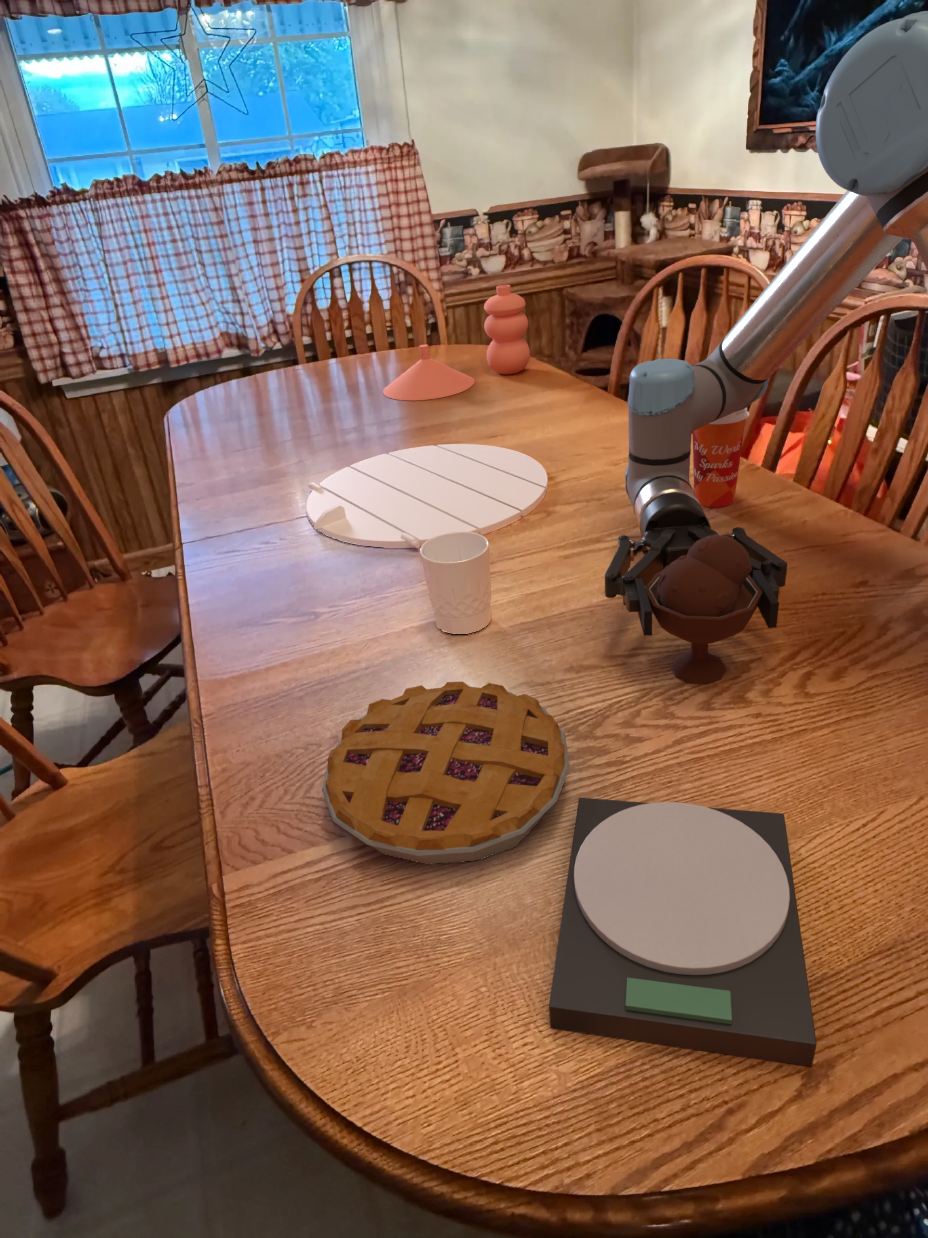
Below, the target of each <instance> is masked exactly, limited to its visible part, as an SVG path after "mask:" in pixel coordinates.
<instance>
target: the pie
mask: <svg viewBox="0 0 928 1238" xmlns="http://www.w3.org/2000/svg"><path fill="white" fill-rule="evenodd" d="M569 769H570V760H569V751H568V746H567V739H566V733H565V731H563V729H562V728H561V726H559V724H558V723H557V721H556V719H554V717H553V716H552V715H551V714H550V713H549V712H548V711H547V710H546V709H545V708H544V707H543V706H542V705H541V703H540V702H539V699H537V698H535V697H533V696H530V695H528V694H526V693H522V694H519V695H517V694H515V693H513V692H510V691H508V690H507V689H506V688H505V686H504V685H503V684H498V683H497V684H496V683H491V682H488V683H486V684H485V685H483V686H482V687H476V686H470V685H468V684H467V683H466V682H464V681H446V683H444V685H443V686H441V687H435V688H425V687H424V686H423V684H421V685H416V686H412V687H408V688H405V689H404V691H403V693H402V695H400V696H398V697H397V696H396V697H395V698H392V699H385V698H381V699H379V700H376V701H373V702H370V703H369V704H368V707H367V711H366V714H365V715H363V716H362V717H360V718H358V719H350V720H349V721H348V722H347V723H346V724H345V726H343V728H342V729H341V739H340V740H339V741H338V743H337V744H336V746H335V747H334V748H333V749H331V750H330V752H329V754H328V757H327V764H326V770H325V772H324V773H325V774H324V778H323V781H322V787H321V791H322V794H323V797H324V800H325V803H326V805H327V808H328V811H329V813H330V817H331V820H332V821H333V823H335V824H336V825H338V826H339V827H341V828H342V829H344V830H345V831H346V832H348V833H350V834H351V835H352V836H354V837H355V838H357V840H360V841H361V842H362V843H364V844H365V845H367V846H370V847H371V848H373V849H374V848H375V849H374V850H376V851H377V852H379V853H381V854H382V855H383V856H387V855H389V856H388V857H391V856H394V857H393V858H396V857H398V858H397V859H400V858H403V859H402V860H405V859H408V860H407V861H409V860H413V861H412V862H414V861H417V862H416V863H418V862H421V863H420V864H423V863H426V864H425V865H427V864H430V865H432V864H431V863H444V864H449V863H448V862H458V863H463V862H462V861H472V862H475V861H474V860H478V861H480V860H479V859H481V858H483V859H485V858H484V857H486V858H488V857H487V856H489V857H491V856H490V855H492V854H495V853H497V854H499V853H498V852H500V853H503V852H505V851H504V850H506V849H509V848H511V849H514V848H515V847H516V846H517V845H518V844H520V842H521V841H522V840H523V839H524V838H525V837H526V836H528V834H529V833H530V832H531V831H532V830H533V829H534V828H535V827H536V826H537V825H538V824H539V823H540V821H541V819H542V818H543V816H544V814H545V813H547V812H548V811H549V809H551V808H552V807H553V806H554V805H555V804H556V803H557V802H558V799H559V795H560V794H561V790H562V788H563V785H564V782H565V780H566V778H567V774H568V772H569ZM537 823H538V824H537ZM536 824H537V825H536ZM535 825H536V826H535ZM534 826H535V827H534ZM533 827H534V828H533ZM532 828H533V829H532ZM531 829H532V830H531ZM530 830H531V831H530ZM529 831H530V832H529ZM528 832H529V833H528ZM527 833H528V834H527ZM524 836H525V837H524ZM523 837H524V838H523ZM513 847H514V848H513ZM509 850H510V849H509ZM502 851H503V852H502ZM506 851H507V850H506ZM495 855H496V854H495ZM492 856H493V855H492ZM481 860H482V859H481Z"/></svg>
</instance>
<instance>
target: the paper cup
mask: <svg viewBox="0 0 928 1238" xmlns="http://www.w3.org/2000/svg"><path fill="white" fill-rule="evenodd" d="M748 417H750V412H749V411H748V407H746V408H745V409H742V410H740V411H736V412H734V413H731V414H729V415H727V416H725V417H722V418H720V419H718V420H716V421H714V422H711V423H709V424H707V425H705V426H703V427H701V428H699V429H696V430H694V431H692V459H693V460H692V461H693V464H692V465H693V491H694V493H695V495H696V497H697V499H698V501H699V503H700V505H701V507H707V508H723V507H727V506H729V505H731V504H733V503H734V501H735V497H736V490H737V485H738V477H739V470H740V462H741V455H742V448H743V440H744V432H745V426H746V419H747V418H748Z"/></svg>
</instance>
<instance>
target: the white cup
mask: <svg viewBox="0 0 928 1238" xmlns="http://www.w3.org/2000/svg"><path fill="white" fill-rule="evenodd" d="M419 548H420V549H419V554H420V559H421V564H422V568H423V573H424V578H425V583H426V584H425V585H426V589H427V592H428V593H427V594H428V598H429V601H430V605H431V607H432V612H433V617H434V621H435V622H434V623H435V627H437V626H438V627H439V628H440V629H441V630H444V631H447V632H450V633H455V634H459V633H460V634H466V633H470V632H476V631H478V630H480V629H482V628H484V627H485V626H487V625H489V624H490V622H491V621H492V605H491V604H492V602H491V600H492V577H491V560H490V559H491V558H490V542H489V540H488V538H486V537H485V536H484V535H480V534H477V533H473V532H450V533H445V534H441V535H438V536H435V537H433V538H431V539H429V540H428V541H426V542H425V543H424V544H423V545H422V546H420V547H419ZM438 627H437V628H438ZM487 627H488V626H487ZM439 628H438V629H439ZM485 628H486V627H485ZM485 628H484V629H485ZM440 629H439V630H440ZM441 630H440V631H441ZM482 630H483V629H482ZM480 631H481V630H480ZM476 633H477V632H476Z"/></svg>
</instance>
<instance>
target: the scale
mask: <svg viewBox="0 0 928 1238" xmlns="http://www.w3.org/2000/svg"><path fill="white" fill-rule="evenodd" d="M794 881H795V880H794V876H793V867H792V862H791V854H790V846H789V839H788V832H787V825H786V818H785V814H784V813H781V812H769V811H756V810H744V809H732V808H731V809H730V808H719V807H707V806H703V805H698V804H694V803H687V802H679V801H678V802H677V801H661V802H659V801H658V802H644V801H643V802H641V801H630V800H629V801H628V800H616V799H603V798H594V797H593V798H592V797H591V798H590V797H579V798H578V802H577V809H576V816H575V823H574V829H573V838H572V844H571V851H570V858H569V865H568V871H567V879H566V885H565V893H564V899H563V905H562V906H563V907H562V913H561V919H560V926H559V933H558V940H557V948H556V954H555V961H554V969H553V975H552V982H551V989H550V995H549V1003H548V1012H549V1013H548V1014H549V1024H550V1028H551V1029H554V1030H560V1031H568V1032H574V1033H580V1034H586V1035H593V1036H601V1037H606V1038H607V1037H608V1038H609V1037H610V1038H613V1039H615V1038H616V1039H621V1040H627V1041H635V1042H642V1043H647V1044H656V1045H662V1046H670V1047H676V1048H683V1049H689V1050H697V1051H703V1052H709V1053H717V1054H723V1055H730V1056H737V1057H742V1058H743V1057H744V1058H750V1059H755V1060H756V1059H757V1060H763V1061H771V1062H776V1063H777V1062H778V1063H784V1064H791V1065H796V1066H797V1065H798V1066H805V1067H813V1065H814V1058H815V1054H816V1049H817V1045H818V1043H817V1036H816V1031H815V1029H816V1028H815V1023H814V1015H813V1010H812V1009H813V1007H812V1001H811V996H810V995H811V993H810V988H809V980H808V974H807V966H806V959H805V952H804V945H803V939H802V930H801V924H800V916H799V910H798V903H797V902H798V901H797V895H796V889H795V882H794Z"/></svg>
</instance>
